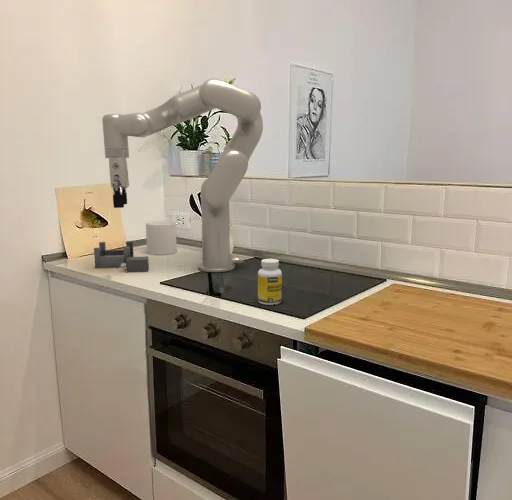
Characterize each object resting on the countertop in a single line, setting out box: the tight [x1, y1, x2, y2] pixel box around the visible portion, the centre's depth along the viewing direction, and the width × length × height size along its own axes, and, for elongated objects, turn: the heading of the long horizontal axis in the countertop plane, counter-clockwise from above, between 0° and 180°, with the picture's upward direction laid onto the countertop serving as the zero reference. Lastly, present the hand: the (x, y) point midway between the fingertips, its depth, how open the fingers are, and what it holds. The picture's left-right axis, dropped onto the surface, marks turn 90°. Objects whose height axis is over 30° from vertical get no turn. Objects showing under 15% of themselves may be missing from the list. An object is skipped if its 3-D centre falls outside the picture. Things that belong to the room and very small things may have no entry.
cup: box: [145, 220, 177, 256], centre depth 202 cm, size 12×12×12 cm
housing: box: [93, 240, 135, 269], centre depth 183 cm, size 12×12×7 cm
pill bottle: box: [257, 258, 283, 306], centre depth 137 cm, size 6×6×12 cm
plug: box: [120, 255, 150, 274], centre depth 173 cm, size 9×5×4 cm, turn 98°
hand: (120, 205), depth 168 cm, fingers open, 9 cm apart
